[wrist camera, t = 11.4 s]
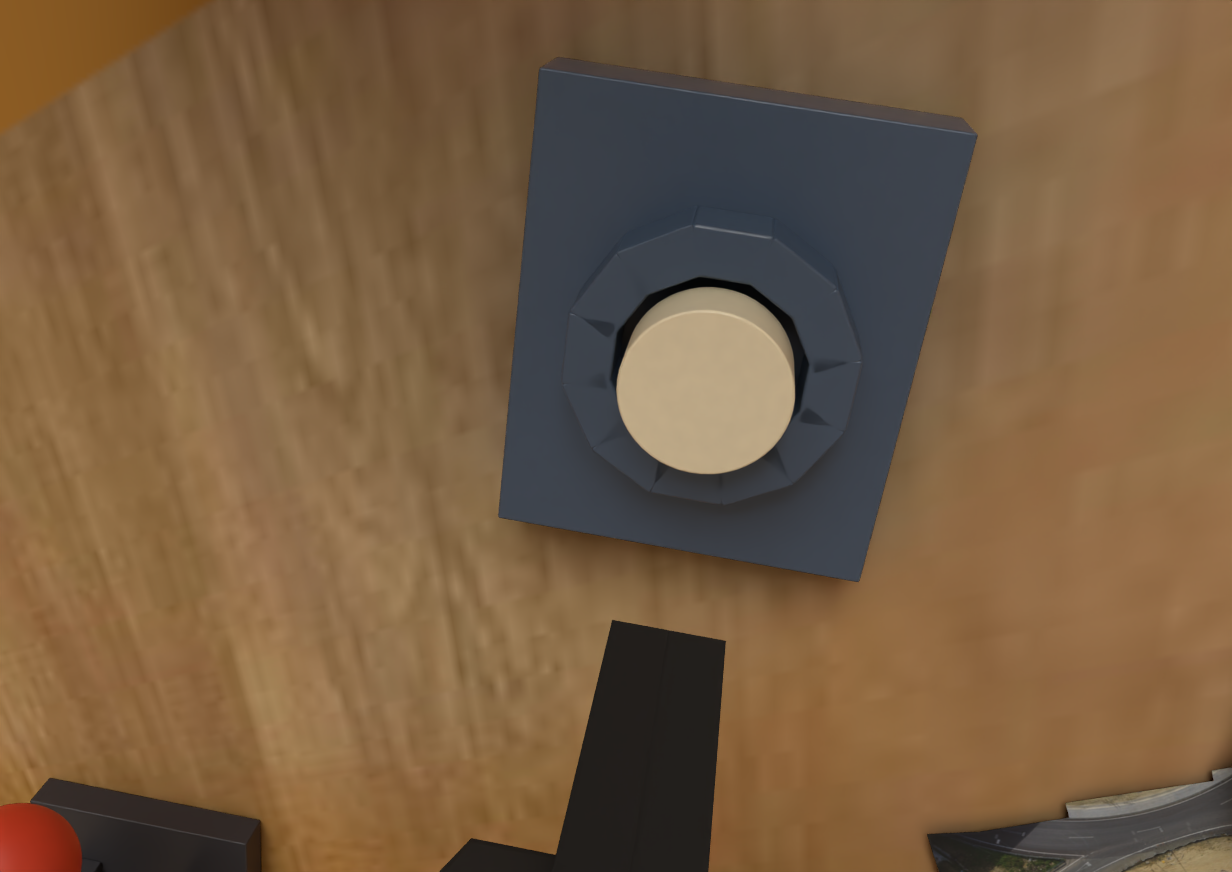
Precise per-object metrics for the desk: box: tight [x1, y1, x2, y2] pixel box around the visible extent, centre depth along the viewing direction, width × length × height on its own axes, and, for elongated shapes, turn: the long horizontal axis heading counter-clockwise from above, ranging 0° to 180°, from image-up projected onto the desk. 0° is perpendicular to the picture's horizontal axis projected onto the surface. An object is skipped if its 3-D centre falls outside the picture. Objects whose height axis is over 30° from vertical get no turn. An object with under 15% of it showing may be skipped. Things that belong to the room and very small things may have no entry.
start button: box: [616, 287, 795, 474], centre depth 26 cm, size 4×4×2 cm
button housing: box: [498, 57, 977, 582], centre depth 28 cm, size 12×10×4 cm
